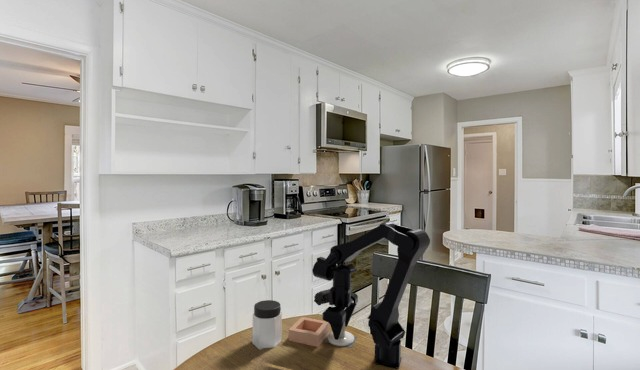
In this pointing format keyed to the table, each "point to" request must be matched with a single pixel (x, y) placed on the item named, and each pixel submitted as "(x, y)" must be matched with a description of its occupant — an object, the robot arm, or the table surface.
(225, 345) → the table surface
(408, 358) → the table surface
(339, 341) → the lid
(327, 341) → the mat
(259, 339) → the jar
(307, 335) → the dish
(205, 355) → the table surface
